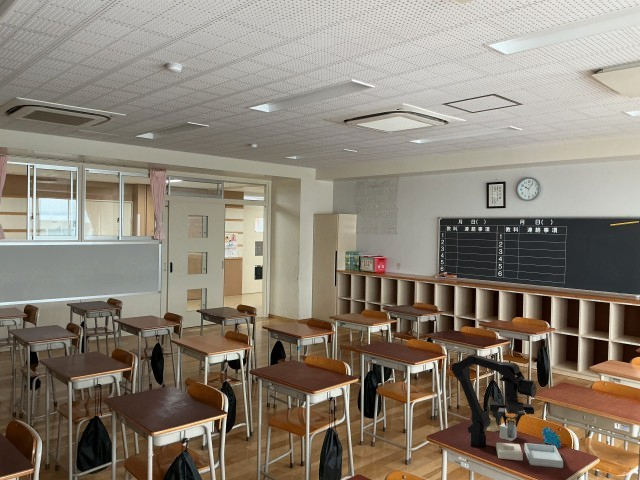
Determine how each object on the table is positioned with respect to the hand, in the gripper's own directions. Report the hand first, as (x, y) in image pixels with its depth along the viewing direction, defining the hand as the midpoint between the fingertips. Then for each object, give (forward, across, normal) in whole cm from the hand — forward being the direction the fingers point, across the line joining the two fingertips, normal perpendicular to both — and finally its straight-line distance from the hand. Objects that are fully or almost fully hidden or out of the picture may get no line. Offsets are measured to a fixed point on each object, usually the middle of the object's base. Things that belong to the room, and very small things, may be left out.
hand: (510, 426), depth 233 cm
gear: (+13, +20, +15) cm, 28 cm away
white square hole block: (+13, -1, 0) cm, 13 cm away
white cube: (+13, +1, +20) cm, 24 cm away
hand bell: (+13, -6, +30) cm, 33 cm away
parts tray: (+13, +13, -1) cm, 18 cm away
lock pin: (+4, 0, 0) cm, 4 cm away
